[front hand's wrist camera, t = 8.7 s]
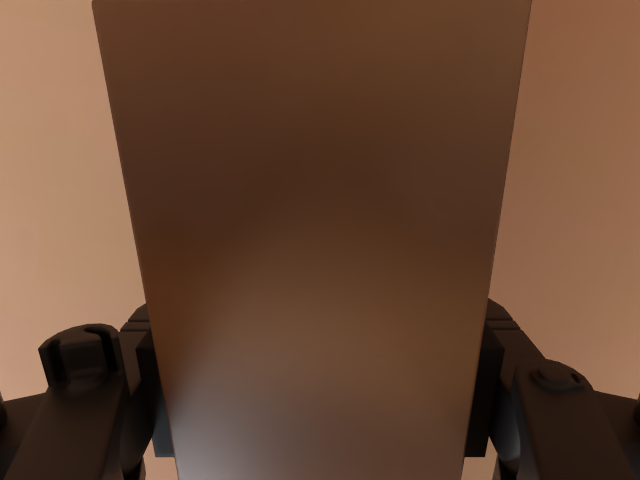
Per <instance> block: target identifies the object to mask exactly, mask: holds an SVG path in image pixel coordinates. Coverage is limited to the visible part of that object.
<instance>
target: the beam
mask: <svg viewBox="0 0 640 480" xmlns="http://www.w3.org/2000/svg"><path fill="white" fill-rule="evenodd" d="M531 3H532V0H93V1H92V9H93V14H94V20H95V25H96V31H97V36H98V42H99V47H100V53H101V58H102V64H103V69H104V75H105V80H106V85H107V91H108V96H109V102H110V107H111V113H112V118H113V124H114V129H115V135H116V140H117V146H118V151H119V156H120V162H121V167H122V173H123V178H124V184H125V189H126V195H127V200H128V206H129V211H130V217H131V222H132V228H133V233H134V238H135V244H136V249H137V255H138V260H139V266H140V271H141V277H142V282H143V288H144V293H145V299H146V304H147V309H148V315H149V320H150V326H151V331H152V337H153V342H154V348H155V353H156V359H157V364H158V370H159V375H160V381H161V386H162V391H163V397H164V402H165V408H166V413H167V419H168V424H169V430H170V435H171V441H172V446H173V452H174V457H175V462H176V468H177V473H178V479H179V480H461V477H462V470H463V463H464V457H465V450H466V443H467V436H468V430H469V423H470V416H471V409H472V402H473V396H474V389H475V382H476V375H477V369H478V362H479V355H480V348H481V341H482V335H483V328H484V321H485V314H486V308H487V301H488V294H489V287H490V280H491V274H492V267H493V260H494V253H495V247H496V240H497V233H498V226H499V219H500V213H501V206H502V199H503V192H504V186H505V179H506V172H507V165H508V158H509V152H510V145H511V138H512V131H513V125H514V118H515V111H516V104H517V97H518V91H519V84H520V77H521V70H522V64H523V57H524V50H525V43H526V36H527V30H528V23H529V16H530V9H531Z"/></svg>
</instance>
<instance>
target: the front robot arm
mask: <svg viewBox="0 0 640 480" xmlns="http://www.w3.org/2000/svg"><path fill="white" fill-rule="evenodd" d="M38 351H39V354H40V358H41V361H42V365H43V368H44V372H45V375H46V379H47V382H48V386H49V387H48V389H47V391H46V392H45V393H42V394H38V395H33V396H28V397H23V398H18V399H14V400H9V401H3V398H2V396H1V393H0V480H145V476H146V471H145V464H144V459H143V454H144V452H145V450H146V448H147V446H148V444H149V442H150V440H151V438H152V441H153V446H154V452H155V457H174V452H173V446H172V441H171V435H170V430H169V424H168V419H167V413H166V408H165V402H164V397H163V391H162V386H161V381H160V375H159V370H158V364H157V359H156V353H155V348H154V342H153V337H152V331H151V326H150V320H149V315H148V309H147V304H144V305H142V306H141V307H139V308H138V309H137V310H136V311H135V312H134V313H133V314H132V316H131V317H130V318H129V319H128V322H126V323H125V324H124V326H123V327H122V328H121V329H120V332H118V330H116V329H115V328H114V327H112V326H111V325H106V324H85V325H81V326H76V327H72V328H70V329H67V330H64V331H62V332H59V333H57V334H56V335H54V336H52V337H51V338H49V339H47V340H46V341H45V342H44V343H43V344H42V345H41V346H40V347H39V348H38ZM489 437H490V439H491V441H492V443H493V445H494V447H495V449H496V452H497V459H496V464H495V469H494V474H493V479H492V480H640V394H639V397H638V400H636V399H631V398H626V397H621V396H616V395H612V394H607V393H602V392H598V391H595V390H593V388H592V386H591V385H590V383H589V382H588V381H587V379H586V378H585V377H584V376H583V375H581V374H580V373H579V372H577V371H576V370H574V369H573V368H571V367H569V366H567V365H564V364H562V363H560V362H557V361H553V360H549V359H546V358H545V357H544V356H543V355H542V354H541V352H540V351H539V350H538V349H537V348H536V346H535V345H534V344H533V343H532V341H531V340H530V339H529V338H528V337H527V335H526V334H525V333H524V332H523V331H522V330H520V327H519V326H518V324H517V323H516V322H515V321H513V318H512V317H511V316H510V315H509V314H508V312H507V311H506V310H505V309H504V307H502V306H500V305H499V304H497V303H496V302H494V301H492V300H491V299H489V298H488V301H487V308H486V314H485V321H484V328H483V335H482V341H481V348H480V355H479V362H478V369H477V375H476V382H475V389H474V396H473V402H472V409H471V416H470V423H469V430H468V436H467V443H466V450H465V457H485V454H486V448H487V443H488V438H489Z"/></svg>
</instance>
